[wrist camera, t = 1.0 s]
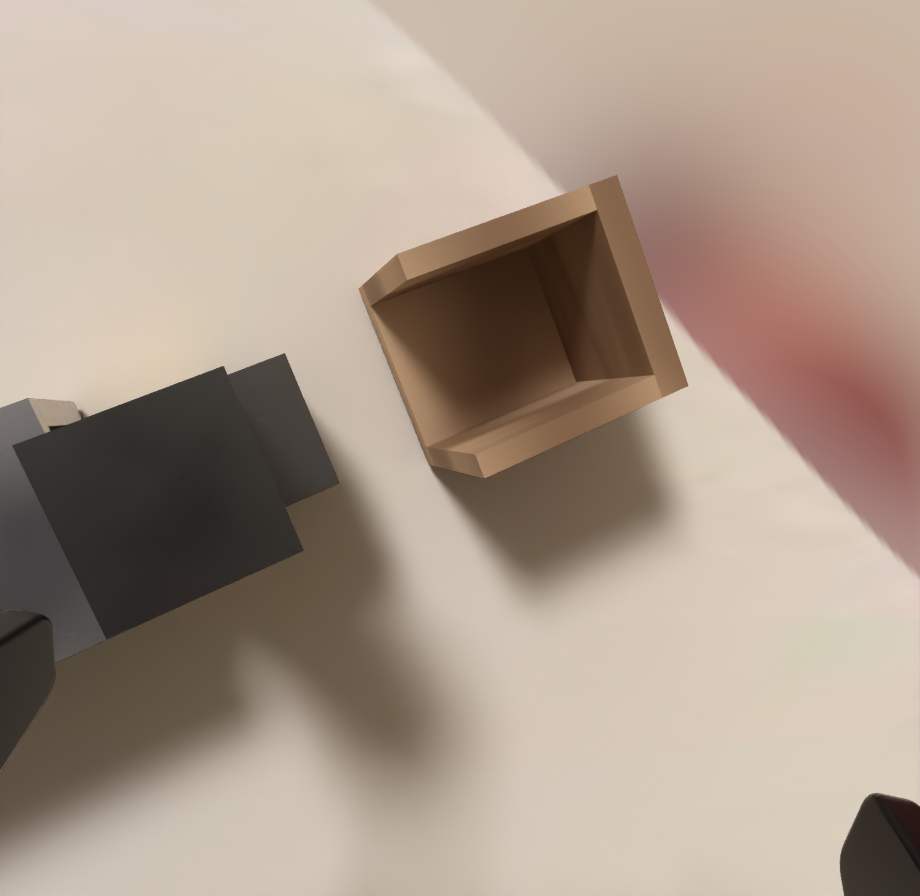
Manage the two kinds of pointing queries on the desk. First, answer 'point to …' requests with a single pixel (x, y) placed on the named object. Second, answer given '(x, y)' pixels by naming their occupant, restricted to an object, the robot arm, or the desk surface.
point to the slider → (179, 489)
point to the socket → (524, 330)
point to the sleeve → (38, 536)
